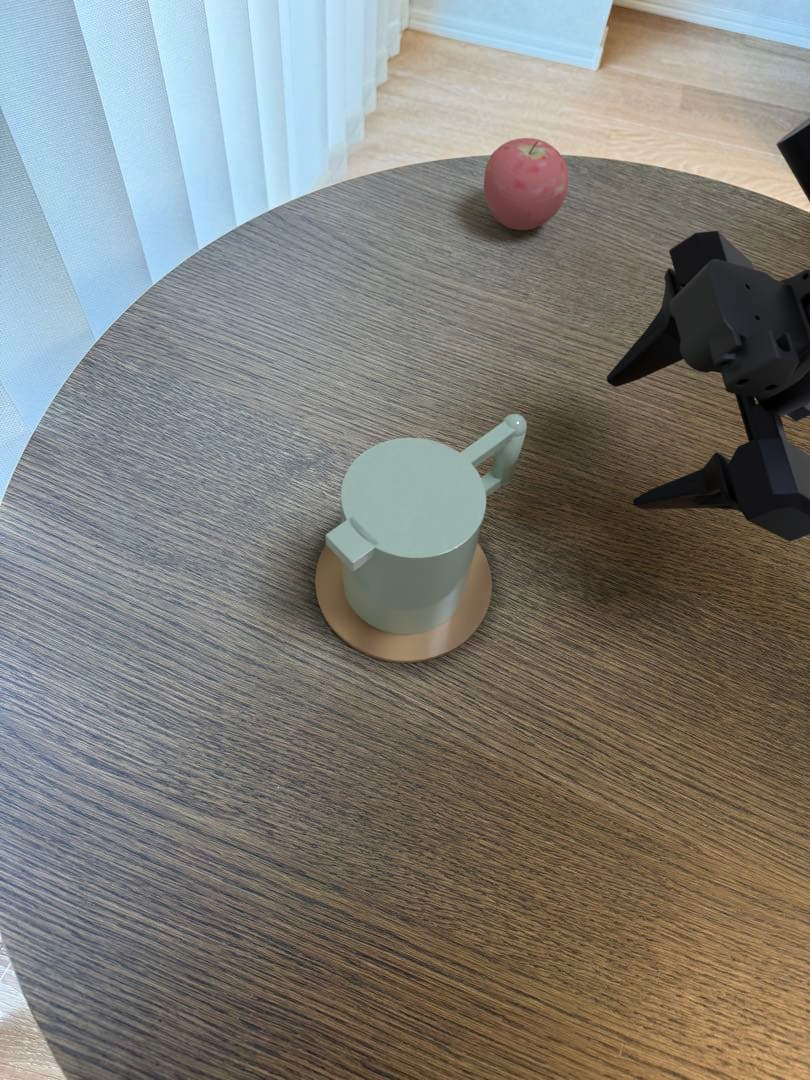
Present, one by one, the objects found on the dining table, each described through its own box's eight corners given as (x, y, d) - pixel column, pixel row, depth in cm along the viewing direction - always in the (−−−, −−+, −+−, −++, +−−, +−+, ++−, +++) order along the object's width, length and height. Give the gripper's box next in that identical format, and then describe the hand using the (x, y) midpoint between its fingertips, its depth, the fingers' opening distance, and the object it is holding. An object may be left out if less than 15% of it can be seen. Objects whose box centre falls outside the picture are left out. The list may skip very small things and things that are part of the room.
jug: (383, 673, 52) (390, 598, 43) (300, 584, 55) (290, 497, 46) (541, 543, 58) (576, 453, 49) (458, 469, 61) (477, 372, 52)
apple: (537, 190, 79) (555, 110, 73) (569, 239, 76) (590, 160, 69) (466, 202, 78) (477, 121, 71) (494, 253, 74) (509, 173, 67)
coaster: (510, 536, 58) (511, 533, 58) (463, 687, 52) (464, 685, 52) (351, 488, 60) (351, 485, 60) (288, 629, 54) (287, 627, 53)
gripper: (757, 103, 42) (522, 276, 52) (870, 415, 34) (569, 546, 44) (844, 209, 49) (623, 342, 59) (955, 486, 41) (678, 584, 51)
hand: (623, 441), depth 53 cm, fingers open, 9 cm apart
